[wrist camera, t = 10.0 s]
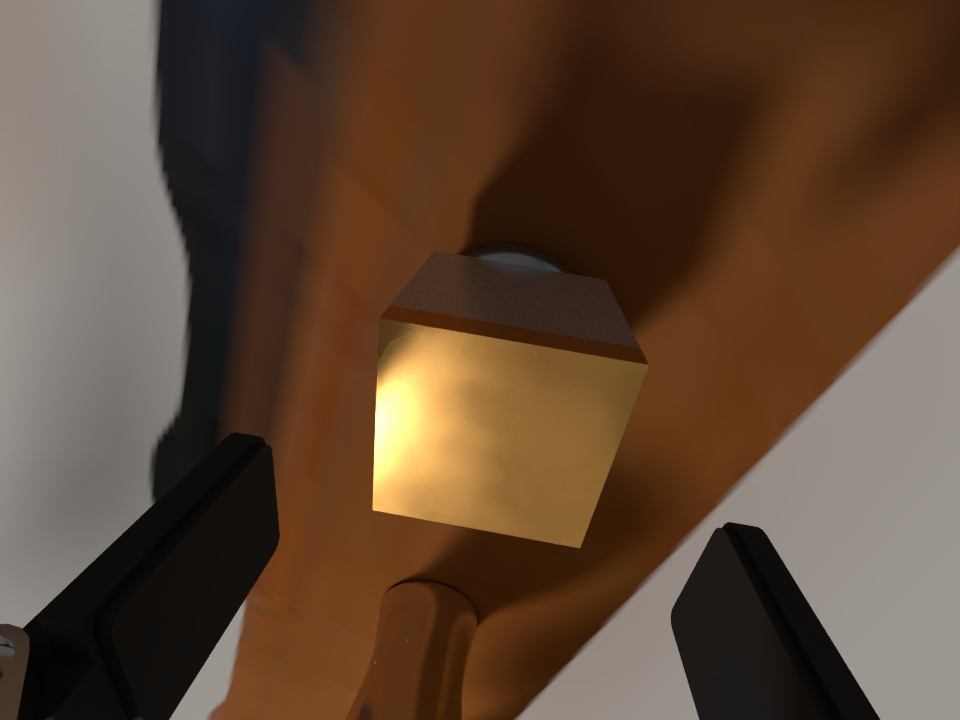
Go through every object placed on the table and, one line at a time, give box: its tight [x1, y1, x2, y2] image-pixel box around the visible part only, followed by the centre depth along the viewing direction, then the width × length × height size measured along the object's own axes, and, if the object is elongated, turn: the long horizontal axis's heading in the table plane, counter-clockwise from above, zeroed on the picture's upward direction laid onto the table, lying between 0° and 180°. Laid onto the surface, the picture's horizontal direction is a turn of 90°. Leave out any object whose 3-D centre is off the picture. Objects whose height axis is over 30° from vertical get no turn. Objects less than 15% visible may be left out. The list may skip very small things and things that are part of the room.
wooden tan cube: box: [373, 251, 649, 548], centre depth 13 cm, size 6×6×6 cm
